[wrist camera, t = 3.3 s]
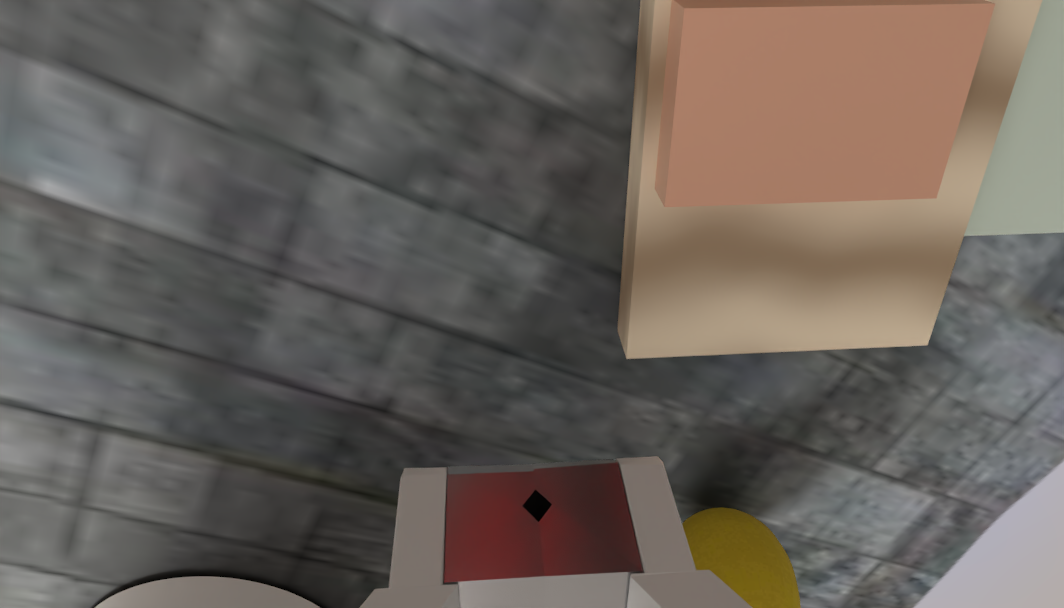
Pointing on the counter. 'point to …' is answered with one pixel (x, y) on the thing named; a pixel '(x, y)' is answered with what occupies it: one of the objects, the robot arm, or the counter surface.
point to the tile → (813, 98)
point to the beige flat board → (800, 235)
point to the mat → (1029, 142)
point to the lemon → (743, 556)
